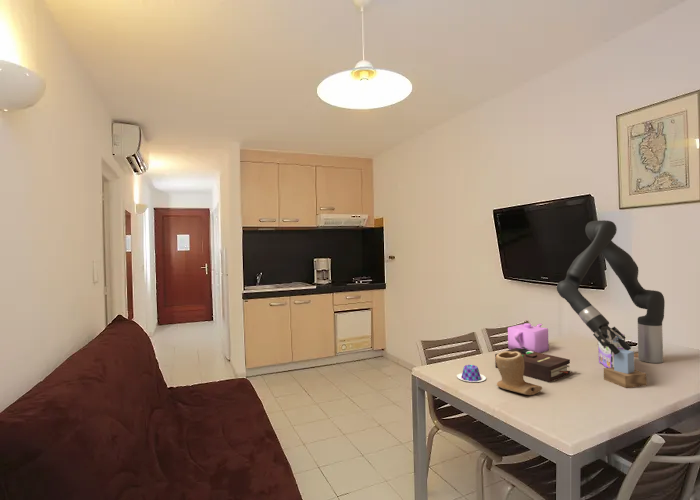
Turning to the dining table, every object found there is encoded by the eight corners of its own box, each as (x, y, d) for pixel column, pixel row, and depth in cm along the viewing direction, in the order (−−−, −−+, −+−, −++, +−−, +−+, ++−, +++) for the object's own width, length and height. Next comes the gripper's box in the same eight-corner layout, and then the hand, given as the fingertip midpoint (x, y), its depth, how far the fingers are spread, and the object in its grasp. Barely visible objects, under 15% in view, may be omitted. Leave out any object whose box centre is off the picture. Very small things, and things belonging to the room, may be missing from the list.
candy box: (626, 372, 169) (625, 334, 169) (611, 371, 170) (610, 334, 170) (611, 362, 182) (611, 327, 182) (597, 362, 184) (597, 327, 183)
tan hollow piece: (489, 388, 155) (488, 351, 154) (507, 382, 161) (506, 346, 161) (525, 400, 142) (524, 360, 142) (543, 393, 149) (542, 354, 149)
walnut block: (624, 377, 163) (623, 366, 163) (646, 386, 153) (646, 373, 153) (603, 380, 161) (603, 368, 161) (625, 388, 151) (625, 376, 151)
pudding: (482, 385, 159) (482, 372, 159) (453, 380, 165) (453, 368, 165) (488, 376, 170) (488, 364, 170) (460, 372, 176) (460, 360, 176)
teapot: (555, 348, 210) (555, 322, 210) (529, 356, 196) (528, 329, 195) (529, 342, 222) (528, 318, 222) (502, 350, 208) (502, 324, 208)
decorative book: (552, 367, 157) (489, 351, 181) (553, 386, 157) (489, 367, 181) (576, 358, 167) (513, 344, 192) (577, 375, 167) (513, 360, 192)
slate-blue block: (620, 368, 160) (620, 348, 160) (634, 371, 156) (633, 351, 156) (614, 370, 158) (613, 350, 158) (627, 373, 154) (627, 353, 153)
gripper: (590, 315, 161) (621, 349, 151) (608, 311, 168) (639, 343, 158) (577, 326, 166) (607, 359, 156) (596, 322, 173) (625, 353, 163)
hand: (623, 351), depth 157 cm, fingers open, 8 cm apart
